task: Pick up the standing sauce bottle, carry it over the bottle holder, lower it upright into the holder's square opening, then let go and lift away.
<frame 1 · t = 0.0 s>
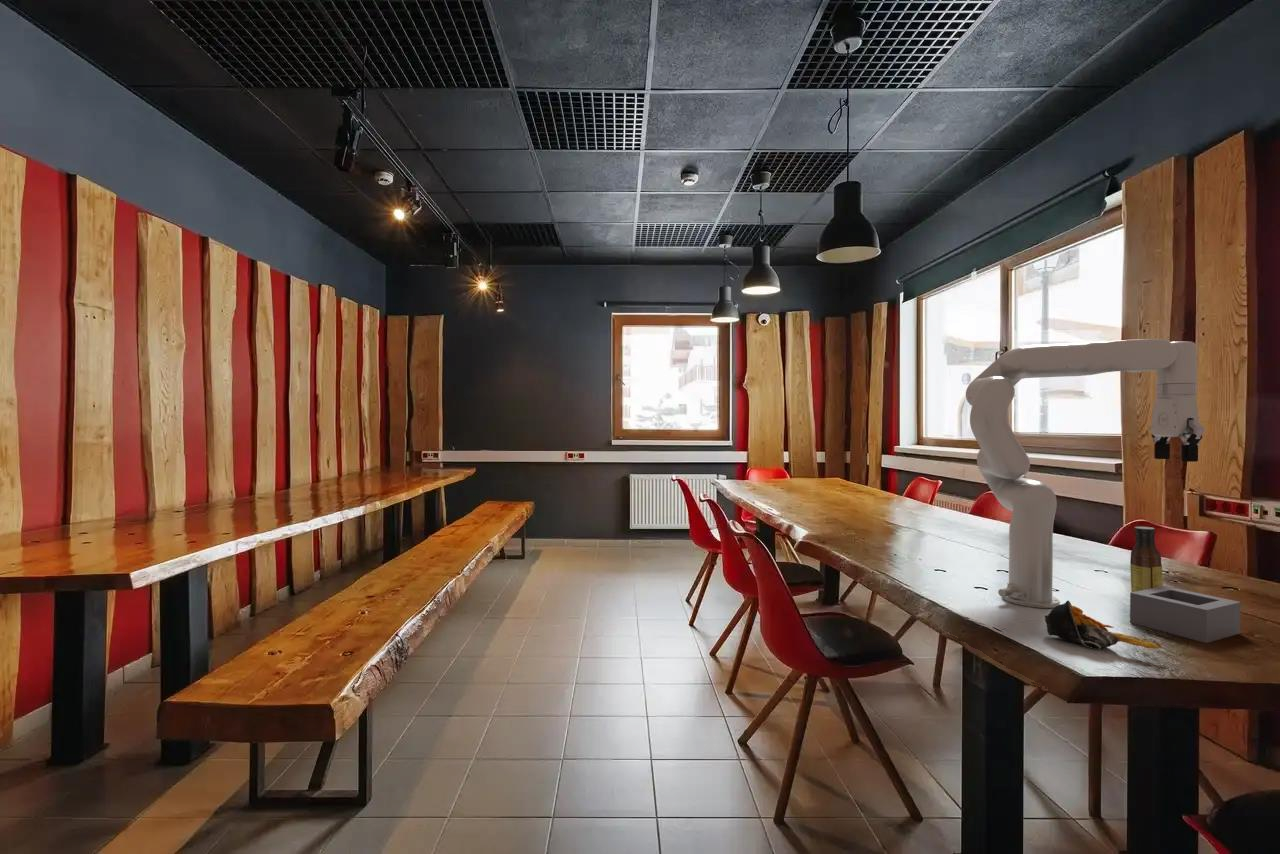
hand: (1175, 460, 149), 37 cm above the table, tool pointing down, fingers open, 9 cm apart
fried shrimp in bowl: (1095, 648, 124), on the table
sauce bottle: (1146, 606, 152), on the table
supplement bottle: (1145, 590, 166), on the table
bottle holder: (1183, 627, 135), on the table
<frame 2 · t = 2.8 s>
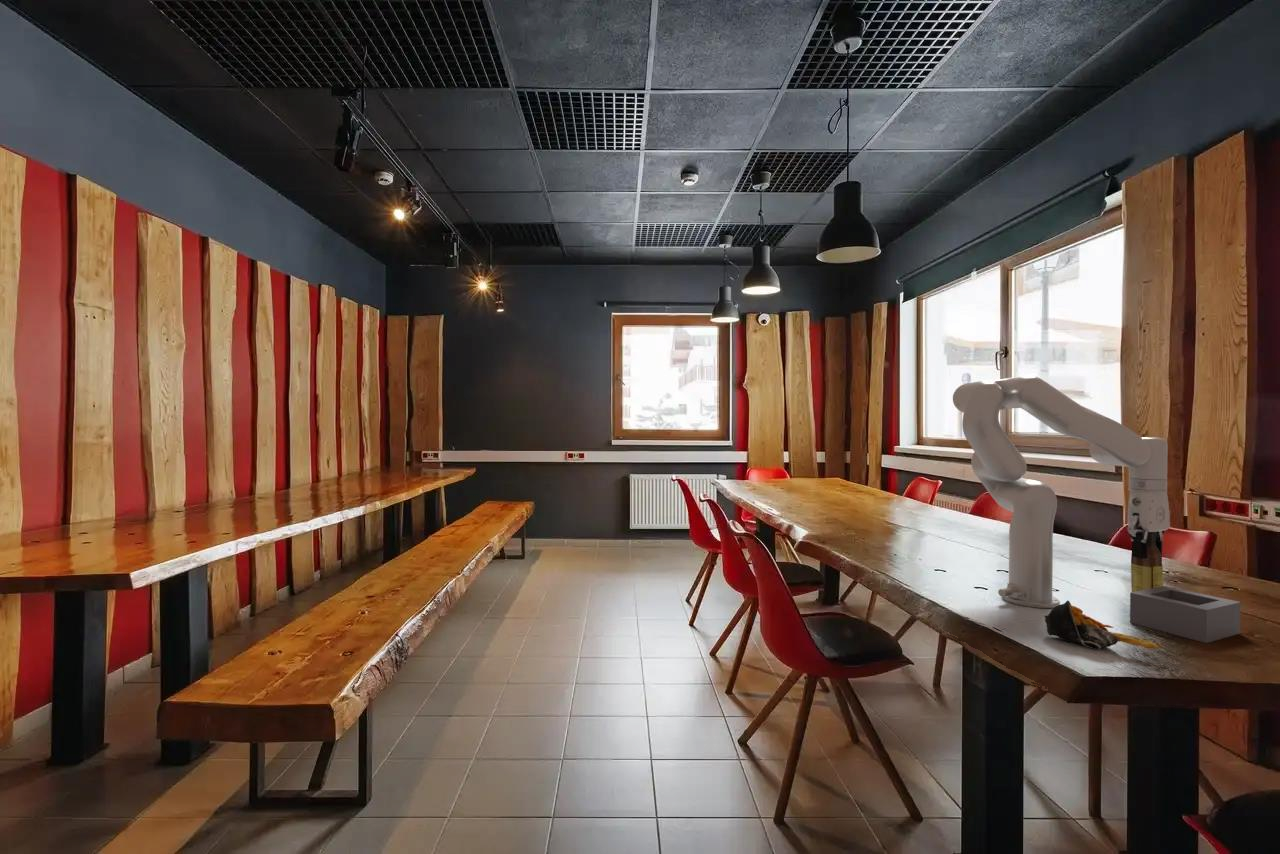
hand: (1146, 555, 152), 13 cm above the table, tool pointing down, fingers closed on sauce bottle, 5 cm apart
sauce bottle: (1146, 605, 152), on the table, touching gripper
everything else where it was.
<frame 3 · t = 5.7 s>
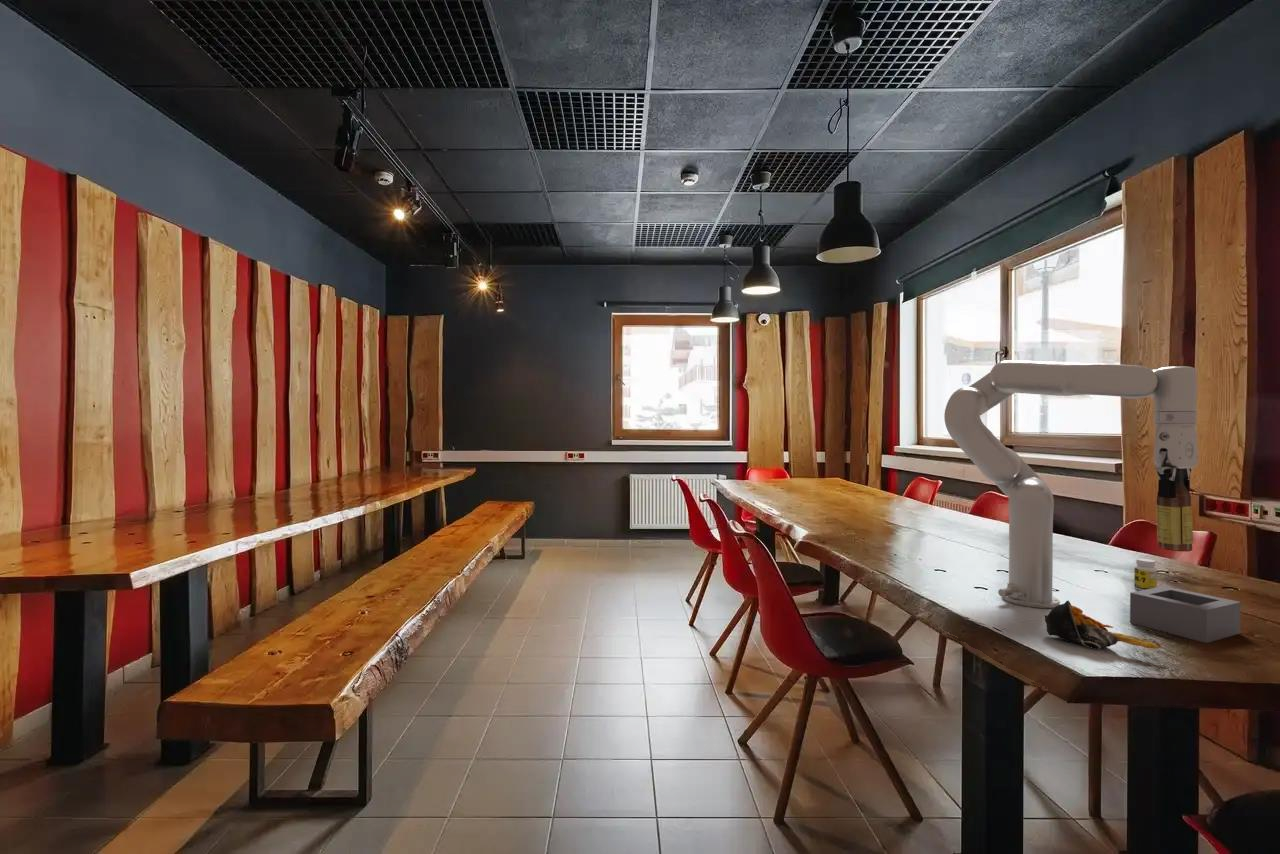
hand: (1174, 496, 140), 29 cm above the table, tool pointing down, fingers closed on sauce bottle, 5 cm apart
sauce bottle: (1173, 550, 140), point 17 cm above the table, touching gripper
everything else where it was.
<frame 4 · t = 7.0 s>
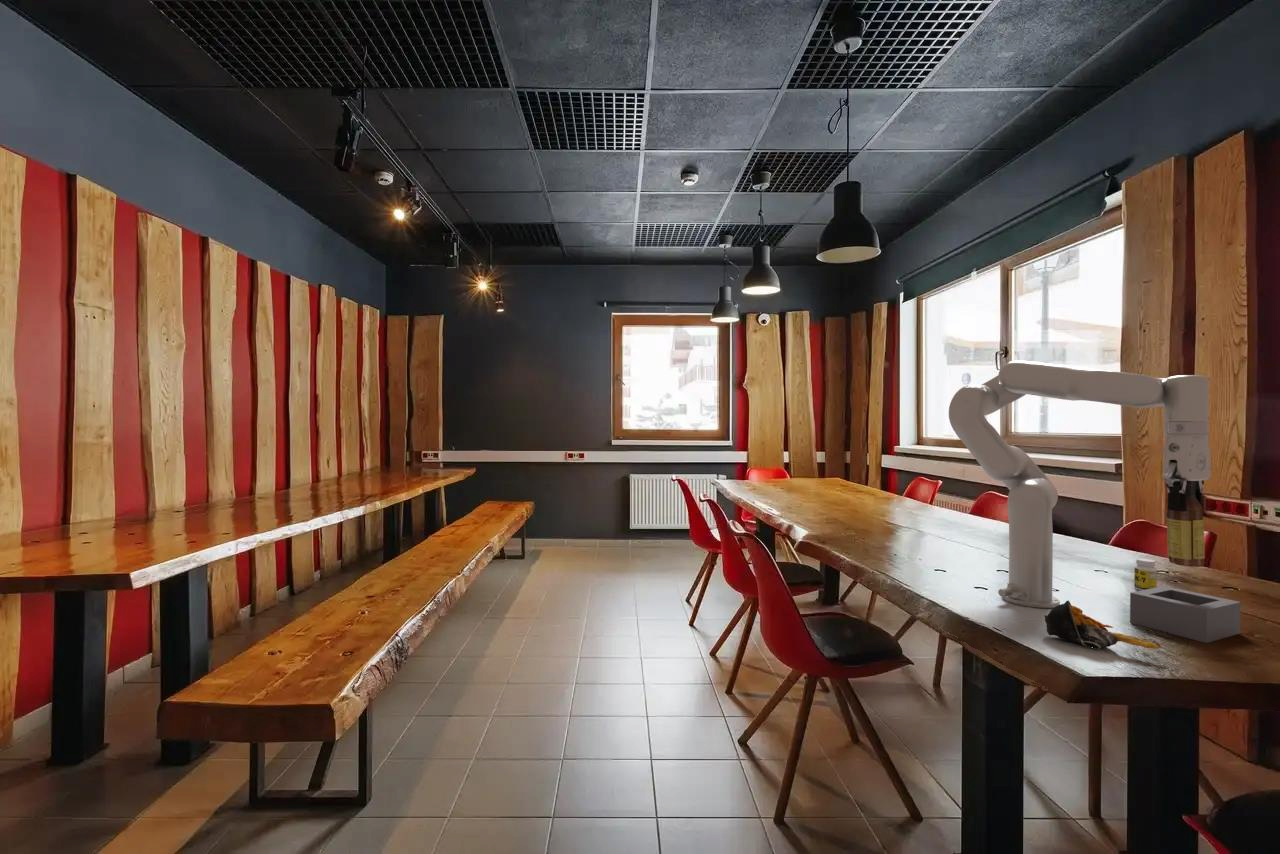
hand: (1184, 509, 135), 27 cm above the table, tool pointing down, fingers closed on sauce bottle, 5 cm apart
sauce bottle: (1184, 565, 135), point 14 cm above the table, touching gripper
everything else where it was.
when the fingers open (15 cm above the table, at t = 10.0 s): sauce bottle drops 1 cm, resting on bottle holder.
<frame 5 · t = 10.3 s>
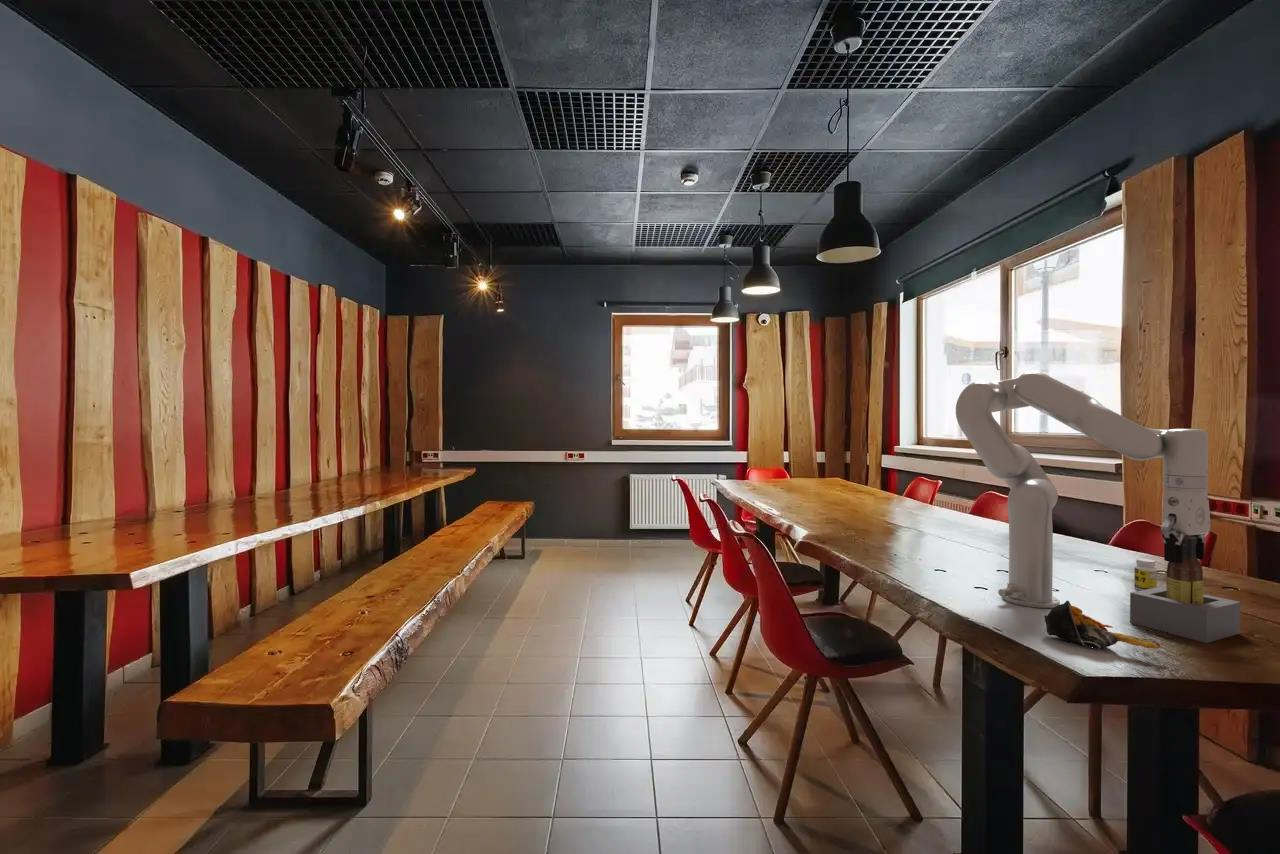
hand: (1184, 559, 135), 16 cm above the table, tool pointing down, fingers open, 8 cm apart
sauce bottle: (1183, 623, 136), point 1 cm above the table, touching bottle holder
everything else where it was.
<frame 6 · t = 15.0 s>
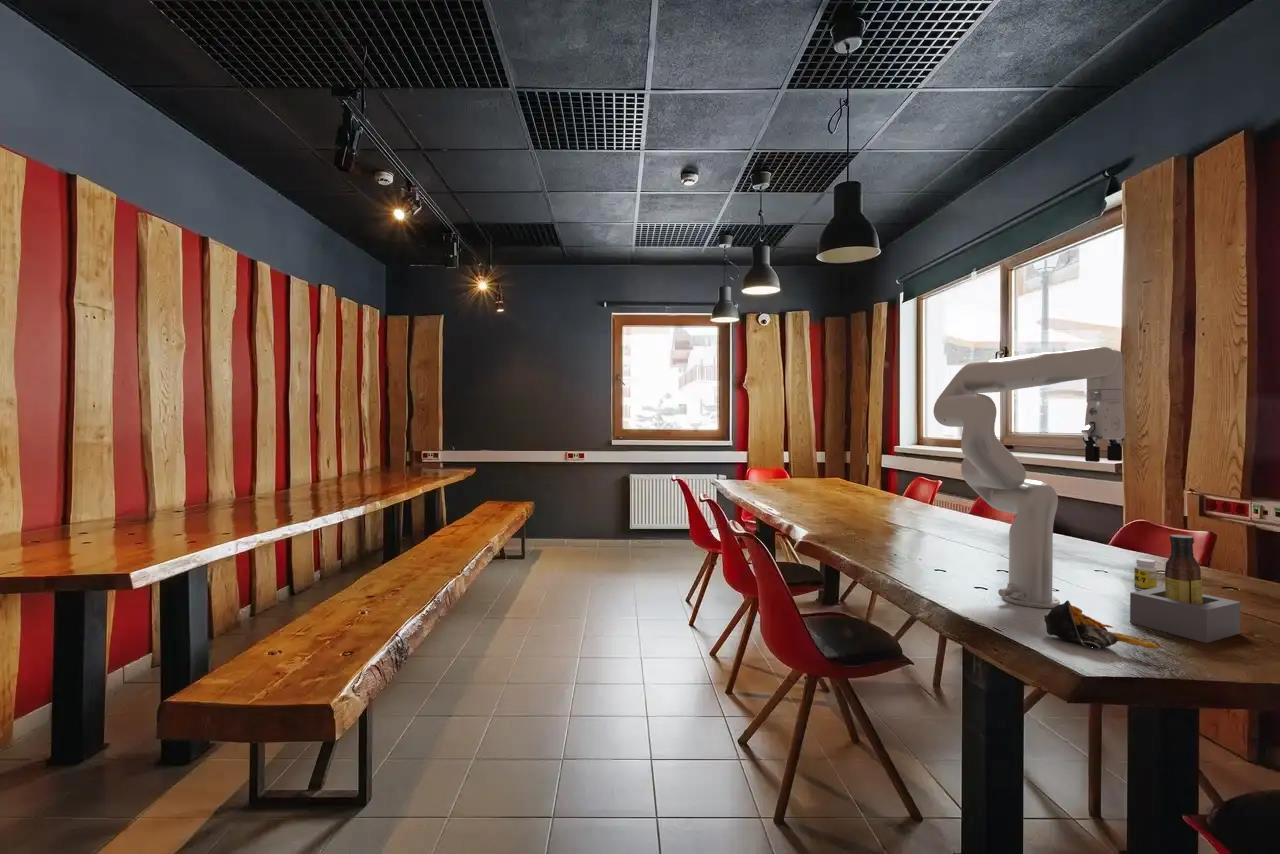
hand: (1103, 461, 159), 36 cm above the table, tool pointing down, fingers open, 9 cm apart
nothing on the table moved.
at the end: sauce bottle 0.3 cm off-centre on the bottle holder, point 0.8 cm above the bottle holder's base; sauce bottle tilted 0°; the gripper is holding nothing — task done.
